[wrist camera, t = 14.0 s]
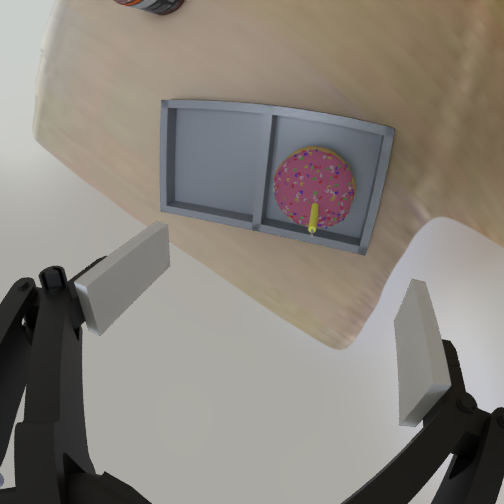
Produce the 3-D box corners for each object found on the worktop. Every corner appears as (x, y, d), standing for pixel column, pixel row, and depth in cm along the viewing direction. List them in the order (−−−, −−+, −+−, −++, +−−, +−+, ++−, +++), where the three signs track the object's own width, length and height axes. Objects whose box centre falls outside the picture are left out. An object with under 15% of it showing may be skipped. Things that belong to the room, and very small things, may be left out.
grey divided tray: (391, 127, 29) (394, 128, 27) (364, 244, 37) (365, 255, 34) (173, 99, 35) (161, 100, 33) (171, 204, 43) (160, 211, 40)
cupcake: (364, 201, 34) (369, 246, 23) (298, 221, 37) (276, 271, 27) (338, 131, 31) (333, 144, 21) (271, 156, 35) (235, 182, 25)
